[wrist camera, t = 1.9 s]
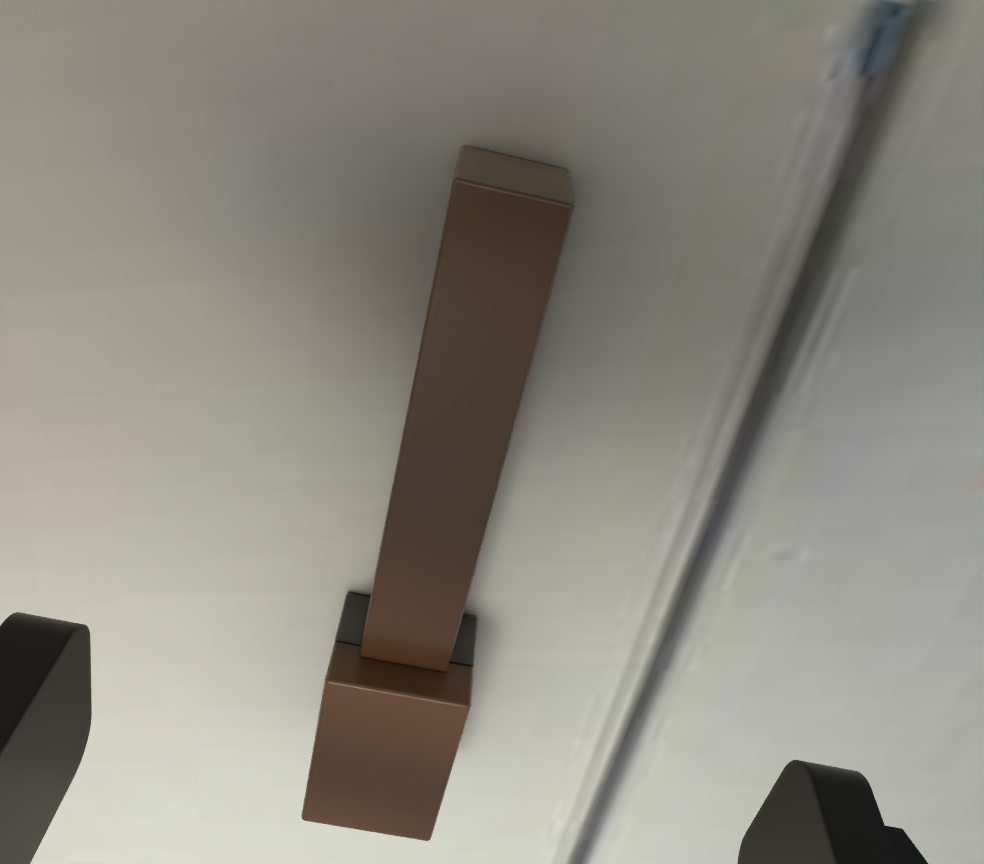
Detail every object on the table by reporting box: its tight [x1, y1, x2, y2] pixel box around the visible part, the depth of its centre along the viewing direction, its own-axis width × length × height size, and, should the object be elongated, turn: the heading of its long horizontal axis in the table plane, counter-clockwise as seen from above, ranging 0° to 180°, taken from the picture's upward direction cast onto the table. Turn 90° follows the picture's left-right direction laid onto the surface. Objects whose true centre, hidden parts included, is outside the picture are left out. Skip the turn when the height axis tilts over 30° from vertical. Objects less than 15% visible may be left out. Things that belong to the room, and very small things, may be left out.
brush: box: [302, 146, 574, 841], centre depth 20 cm, size 16×3×3 cm, turn 168°
